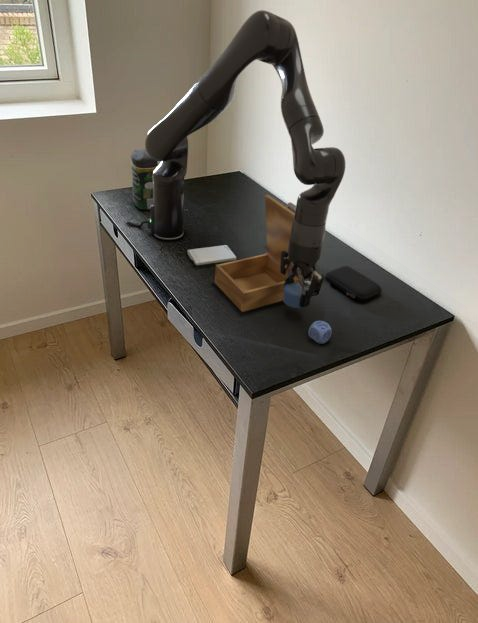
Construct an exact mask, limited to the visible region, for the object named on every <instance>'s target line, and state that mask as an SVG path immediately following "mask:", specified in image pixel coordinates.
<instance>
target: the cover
mask: <svg viewBox="0 0 478 623" xmlns="http://www.w3.org/2000/svg"><path fill="white" fill-rule="evenodd" d="M264 198H265V199H264V200H265V229H266V230H265V231H266V234H265V235H266V253H269V254H270V255H271V256H272V257H273V258H275V260H277V261H278V262H279V263H280V264H281V252H282V251H285V250H288V247H289V241H290V234H291V228H292V224H293V221H294V217H295V210H296V204H294V203H293V202H288V203H287V204H286V205H284V204H283V203H282V202H281V203H280V202H279V201H278V200H276V199H275V198H274V197H272V196H270V195H269V194H265V195H264ZM285 268H287V265H285ZM296 277H297V276H296ZM297 278H298V277H297ZM298 279H299V278H298Z"/></svg>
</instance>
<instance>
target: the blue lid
mask: <svg viewBox="0 0 478 623" xmlns="http://www.w3.org/2000/svg"><path fill="white" fill-rule="evenodd" d="M307 289H309V288H308V286H306V290H307ZM301 294H302V287H301V286H300V284H299V282H298V283H289V284H287V285H286V286H285V289H284V294H283V301H282V302H283V303H284V304H285V305H286V306H288V307H289V308H295V309H300V308H301V307H300V306H299V305H300V299H301ZM301 309H302V308H301Z"/></svg>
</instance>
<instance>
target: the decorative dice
mask: <svg viewBox="0 0 478 623" xmlns="http://www.w3.org/2000/svg"><path fill="white" fill-rule="evenodd" d="M307 333H308V337H310V338H311V339H312V340H313V341H315V342H316V343H318V345H323V344H326V343H327V342H328V341H329V340H330V338H331V337H332V333H333V330H332V327H331V325H330V324H329V323H328V322H326V321H325V320H316V321H314V322H312V324H311V325H310V326H309V328H308V331H307Z"/></svg>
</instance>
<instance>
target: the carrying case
mask: <svg viewBox="0 0 478 623" xmlns="http://www.w3.org/2000/svg"><path fill="white" fill-rule="evenodd" d="M324 278H325V279H326V280H327V282H329V283H330V284H332V285H333V286H334V287H336V288H337V289H339V290H340V291H342V292H344V294H345V295H346V297H349V298H352V299H354V300H356V301H358V302H365V301H367V300H369V299H372V298H374V297H376V296H379V295H381V293H382V292H383V290H382V287H381V286H380V284H378V283H377V282H376V281H374V280H372V279H371V278H370V277H368V276H365V275H364V274H363V273H361V272H359V271H357V270H356V269H354V268H352V267H350V266H349V265H343V266H340V267H337V268H335V269H332V270H330V271H328V272H326V273H325V275H324Z"/></svg>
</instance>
